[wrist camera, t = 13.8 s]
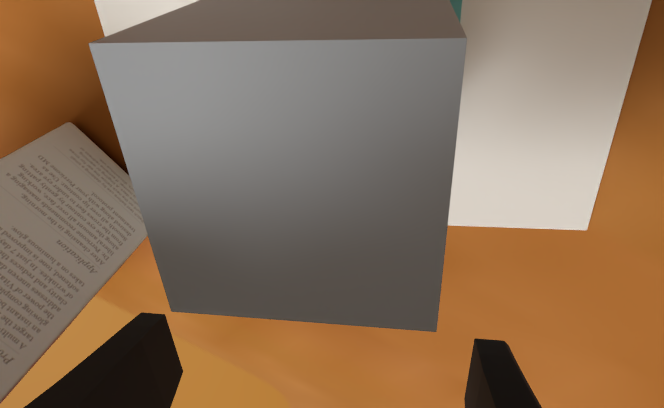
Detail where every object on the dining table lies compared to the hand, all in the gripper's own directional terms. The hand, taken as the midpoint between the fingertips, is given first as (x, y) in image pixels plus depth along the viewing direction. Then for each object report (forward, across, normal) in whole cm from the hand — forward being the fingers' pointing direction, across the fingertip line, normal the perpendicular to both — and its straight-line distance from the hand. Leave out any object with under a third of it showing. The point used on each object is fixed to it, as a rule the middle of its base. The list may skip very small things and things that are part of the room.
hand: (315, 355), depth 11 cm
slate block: (+4, 0, -5) cm, 6 cm away
